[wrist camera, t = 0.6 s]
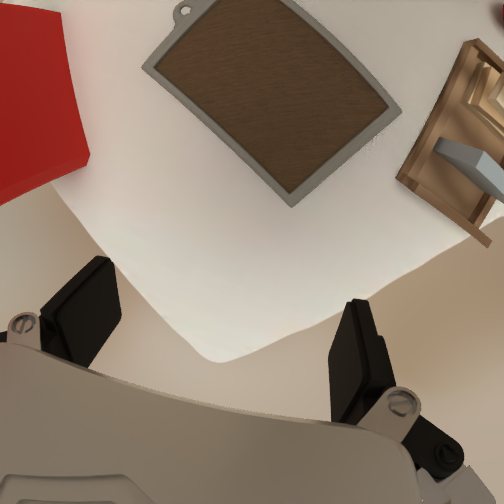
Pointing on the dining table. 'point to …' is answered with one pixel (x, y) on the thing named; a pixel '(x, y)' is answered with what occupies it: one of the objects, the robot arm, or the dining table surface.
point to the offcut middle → (482, 93)
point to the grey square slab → (473, 166)
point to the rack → (460, 130)
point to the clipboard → (272, 88)
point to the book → (36, 102)
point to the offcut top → (498, 95)
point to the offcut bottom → (468, 97)
